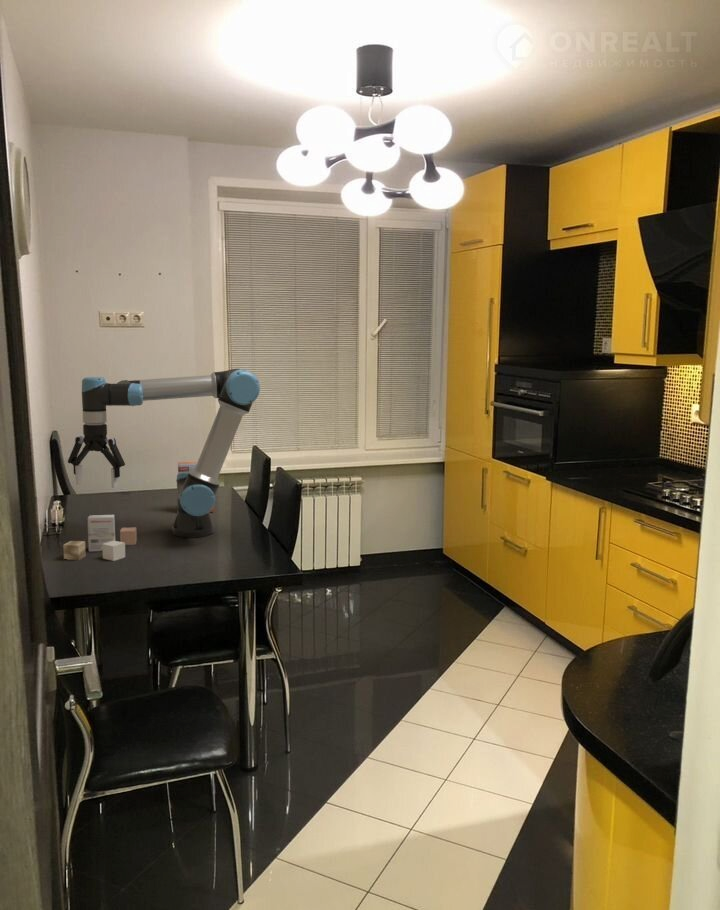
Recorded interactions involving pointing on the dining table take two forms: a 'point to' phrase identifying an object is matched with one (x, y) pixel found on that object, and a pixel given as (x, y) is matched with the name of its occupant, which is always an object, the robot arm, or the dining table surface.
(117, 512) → the dining table surface
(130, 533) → the terracotta cube
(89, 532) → the ink box
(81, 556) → the maple cube
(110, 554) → the off-white cube
